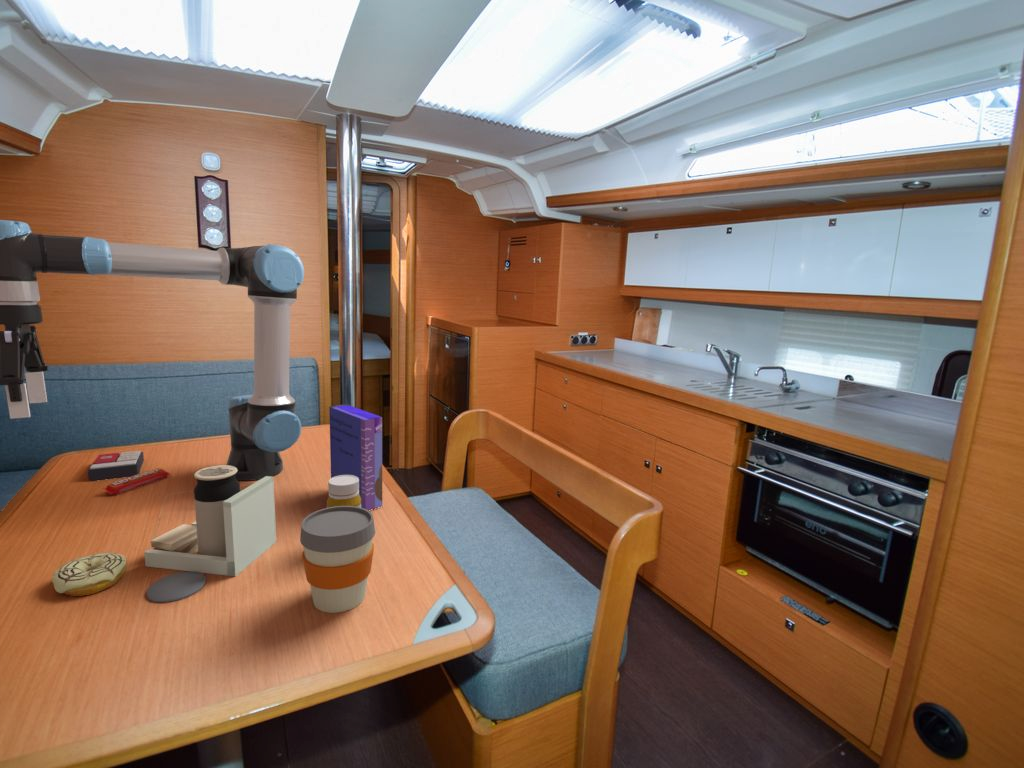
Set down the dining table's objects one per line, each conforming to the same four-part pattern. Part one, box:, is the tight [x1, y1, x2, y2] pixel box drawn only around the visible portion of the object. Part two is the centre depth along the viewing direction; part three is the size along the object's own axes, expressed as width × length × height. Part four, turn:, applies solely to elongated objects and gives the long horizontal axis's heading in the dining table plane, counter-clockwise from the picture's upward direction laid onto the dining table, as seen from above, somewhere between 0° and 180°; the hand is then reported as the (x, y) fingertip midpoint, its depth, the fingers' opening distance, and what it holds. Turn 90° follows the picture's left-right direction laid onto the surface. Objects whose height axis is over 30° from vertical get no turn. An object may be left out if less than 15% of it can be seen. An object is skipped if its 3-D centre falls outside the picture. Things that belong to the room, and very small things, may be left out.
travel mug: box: [193, 464, 241, 557], centre depth 103 cm, size 8×8×18 cm
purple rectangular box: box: [328, 403, 383, 511], centre depth 132 cm, size 17×5×24 cm, turn 47°
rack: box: [143, 476, 277, 577], centre depth 103 cm, size 19×14×15 cm
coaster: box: [146, 571, 206, 603], centre depth 93 cm, size 9×9×1 cm
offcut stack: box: [150, 523, 198, 554], centre depth 105 cm, size 7×10×4 cm, turn 173°
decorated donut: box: [51, 552, 128, 597], centre depth 93 cm, size 10×11×4 cm
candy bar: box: [102, 468, 171, 496], centre depth 136 cm, size 16×4×3 cm, turn 161°
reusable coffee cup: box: [299, 506, 376, 614], centre depth 91 cm, size 13×13×15 cm
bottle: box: [326, 475, 361, 508], centre depth 109 cm, size 7×7×15 cm
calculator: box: [87, 450, 145, 482], centre depth 146 cm, size 11×4×15 cm
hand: (30, 409), depth 102 cm, fingers open, 13 cm apart
